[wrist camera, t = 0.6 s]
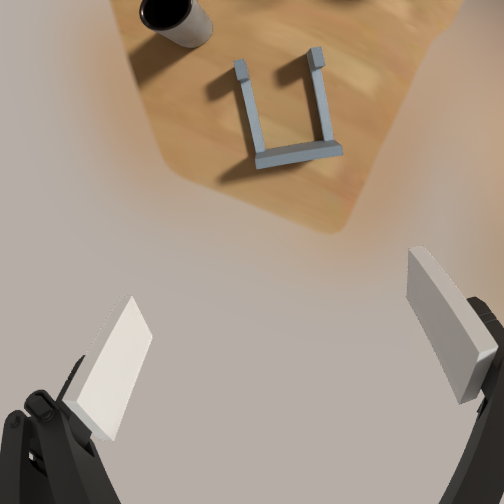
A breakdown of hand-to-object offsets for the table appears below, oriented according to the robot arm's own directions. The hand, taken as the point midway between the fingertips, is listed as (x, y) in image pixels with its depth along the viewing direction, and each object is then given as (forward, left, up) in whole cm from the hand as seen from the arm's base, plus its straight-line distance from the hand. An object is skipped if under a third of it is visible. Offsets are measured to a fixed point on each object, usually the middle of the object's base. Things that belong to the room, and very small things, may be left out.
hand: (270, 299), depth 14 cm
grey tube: (-18, -5, -24) cm, 31 cm away
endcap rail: (-7, +3, -24) cm, 25 cm away
